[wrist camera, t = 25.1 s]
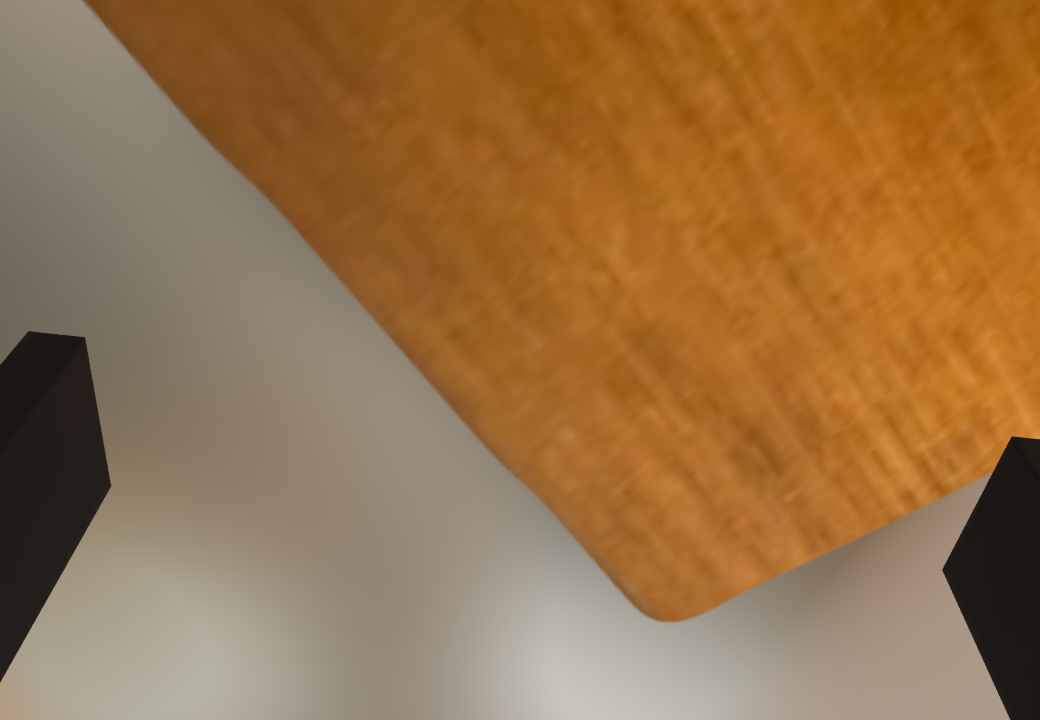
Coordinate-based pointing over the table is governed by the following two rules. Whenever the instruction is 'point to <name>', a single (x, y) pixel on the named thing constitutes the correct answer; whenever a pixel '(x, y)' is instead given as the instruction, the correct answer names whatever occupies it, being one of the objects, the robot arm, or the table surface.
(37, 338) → the robot arm
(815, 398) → the table surface
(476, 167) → the table surface
